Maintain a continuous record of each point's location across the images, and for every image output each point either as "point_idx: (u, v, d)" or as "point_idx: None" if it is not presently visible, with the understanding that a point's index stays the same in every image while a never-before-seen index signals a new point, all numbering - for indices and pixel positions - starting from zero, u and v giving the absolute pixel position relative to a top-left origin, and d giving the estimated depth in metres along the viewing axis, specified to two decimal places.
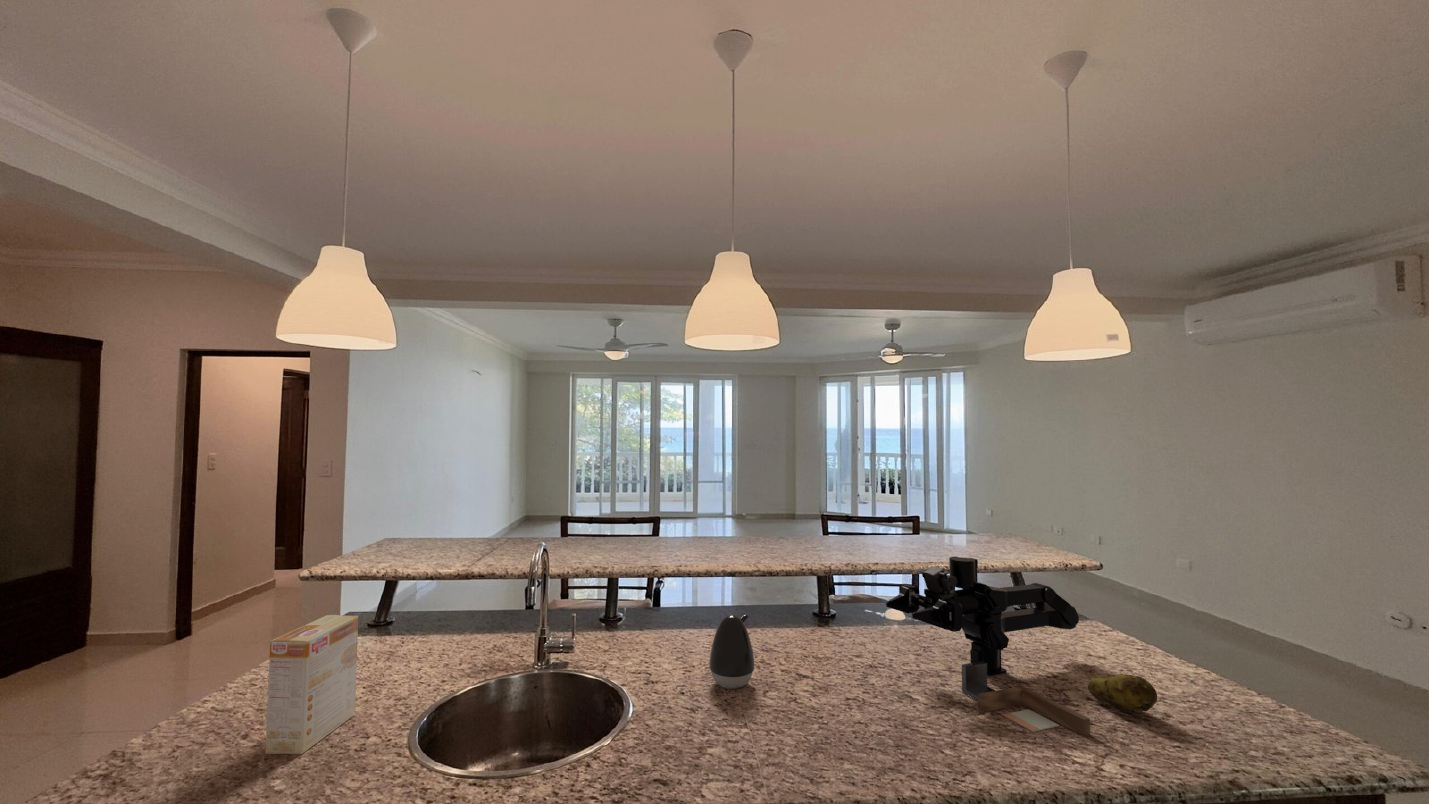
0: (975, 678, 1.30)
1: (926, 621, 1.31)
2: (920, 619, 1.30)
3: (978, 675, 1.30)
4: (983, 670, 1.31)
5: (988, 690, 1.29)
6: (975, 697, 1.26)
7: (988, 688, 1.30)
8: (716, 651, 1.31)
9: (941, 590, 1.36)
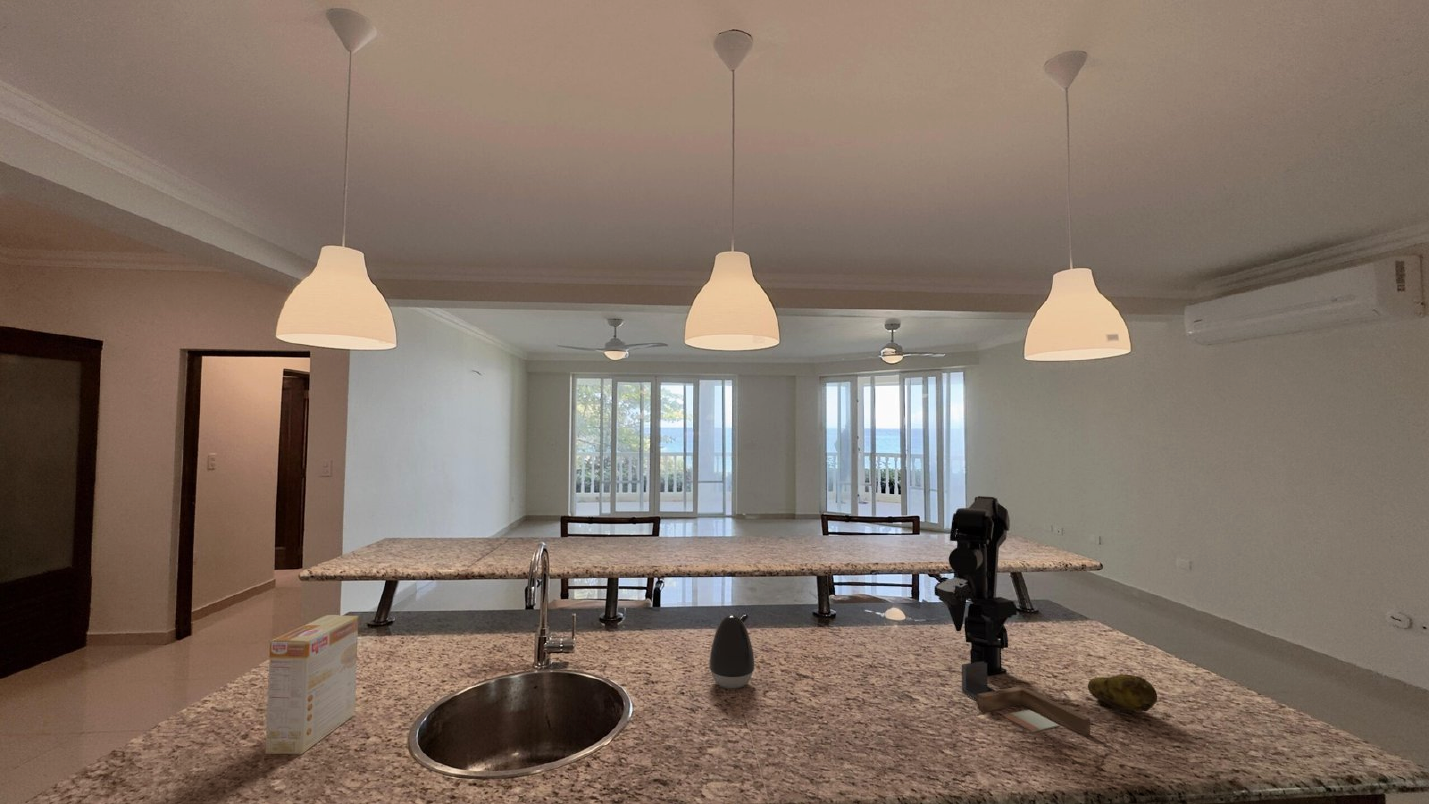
0: (975, 678, 1.30)
1: (997, 631, 1.27)
2: (995, 637, 1.27)
3: (978, 675, 1.30)
4: (983, 670, 1.31)
5: (988, 690, 1.29)
6: (975, 697, 1.26)
7: (988, 688, 1.30)
8: (716, 651, 1.31)
9: None
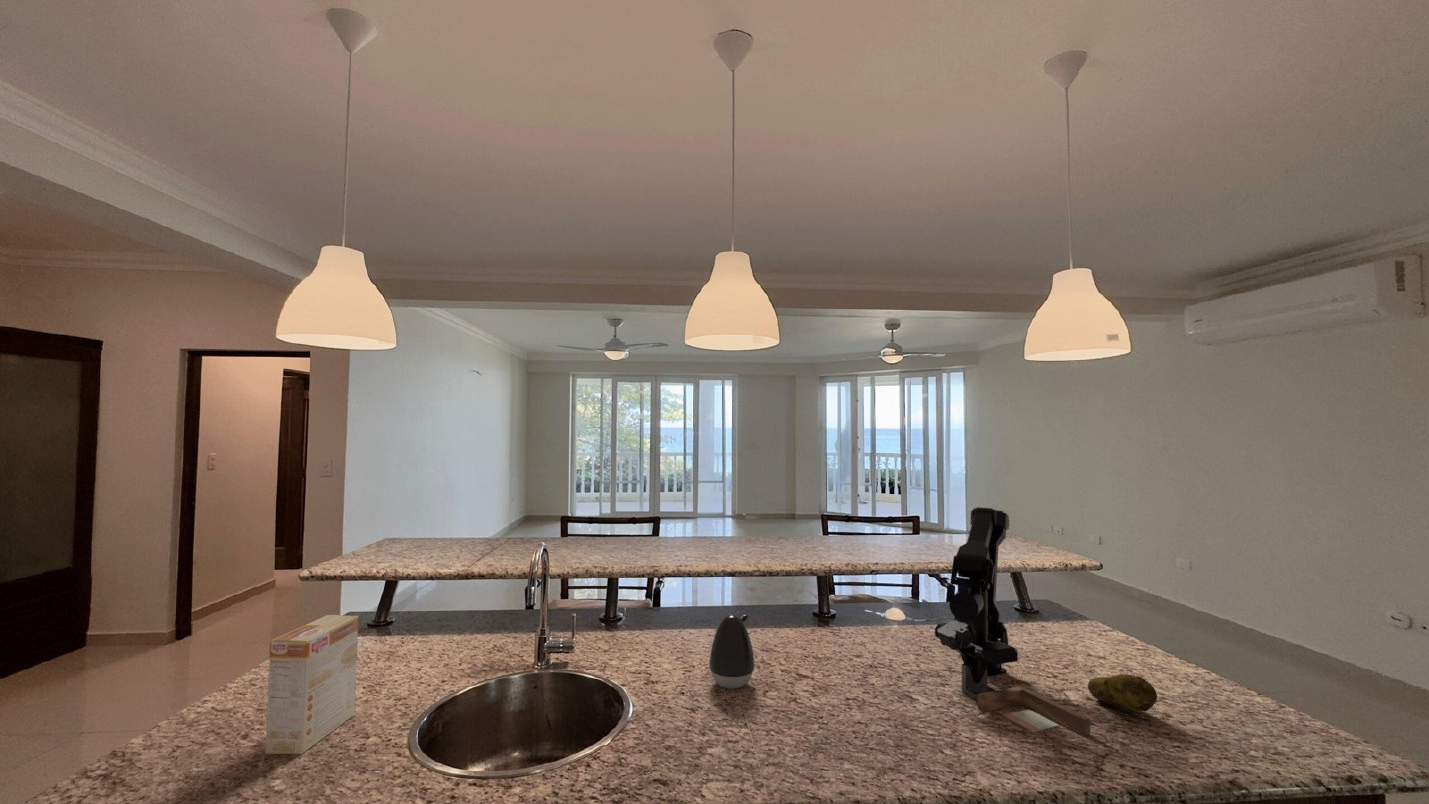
0: None
1: (984, 669, 1.30)
2: (982, 676, 1.30)
3: None
4: None
5: (988, 689, 1.29)
6: (975, 696, 1.26)
7: (988, 687, 1.30)
8: (716, 651, 1.31)
9: None
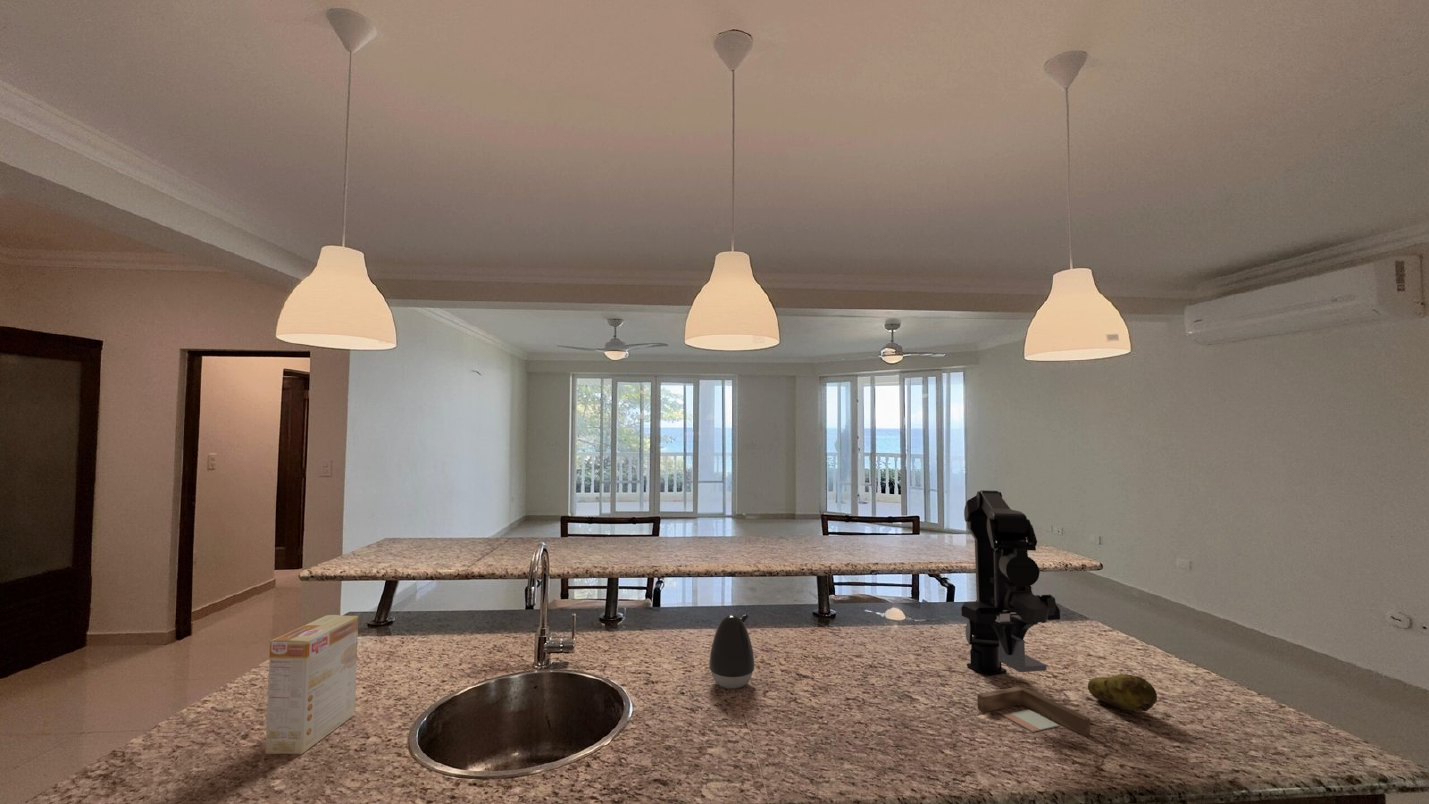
0: None
1: None
2: None
3: None
4: None
5: None
6: (1037, 668, 1.16)
7: None
8: (716, 651, 1.31)
9: None
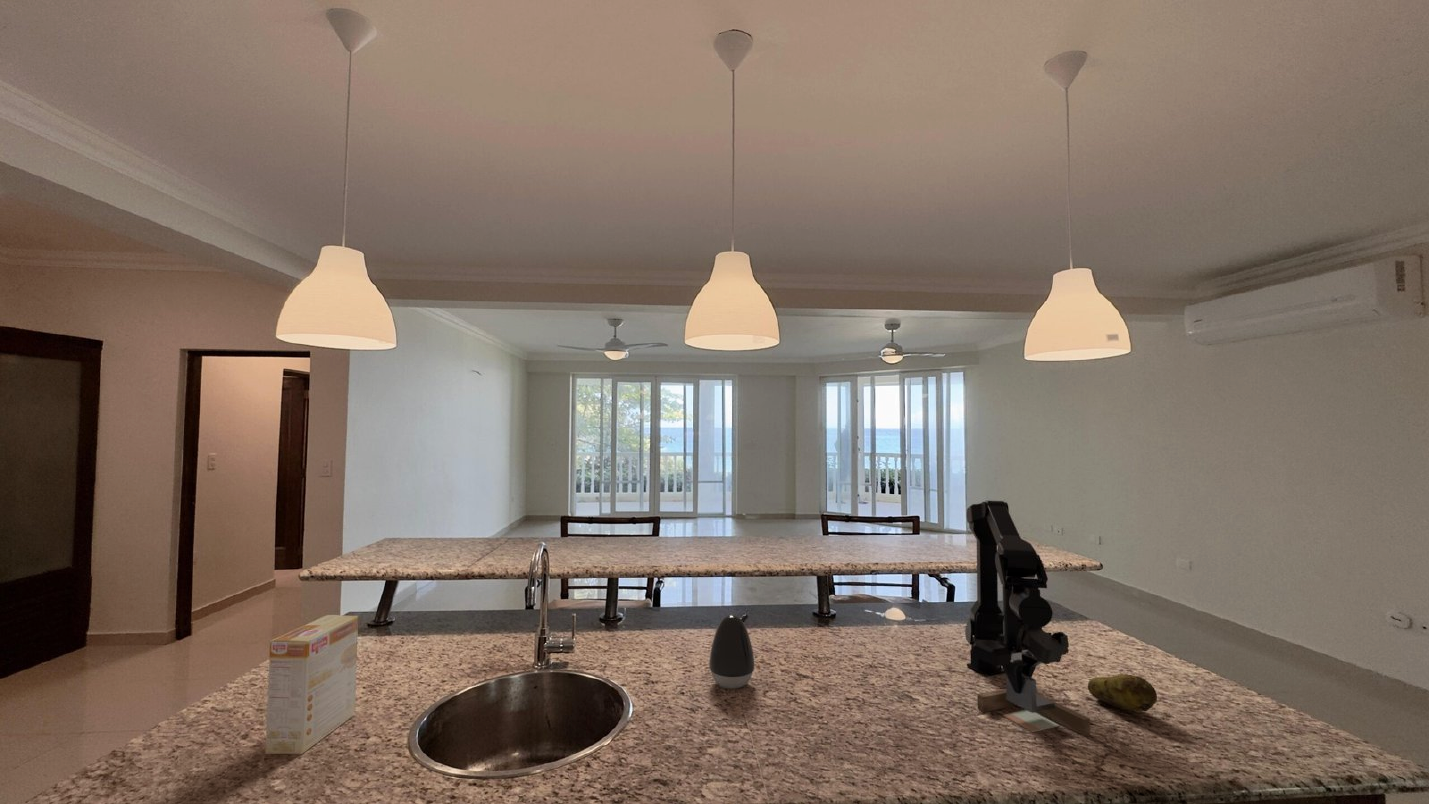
0: None
1: None
2: None
3: None
4: None
5: None
6: (1046, 706, 1.15)
7: None
8: (716, 651, 1.31)
9: None
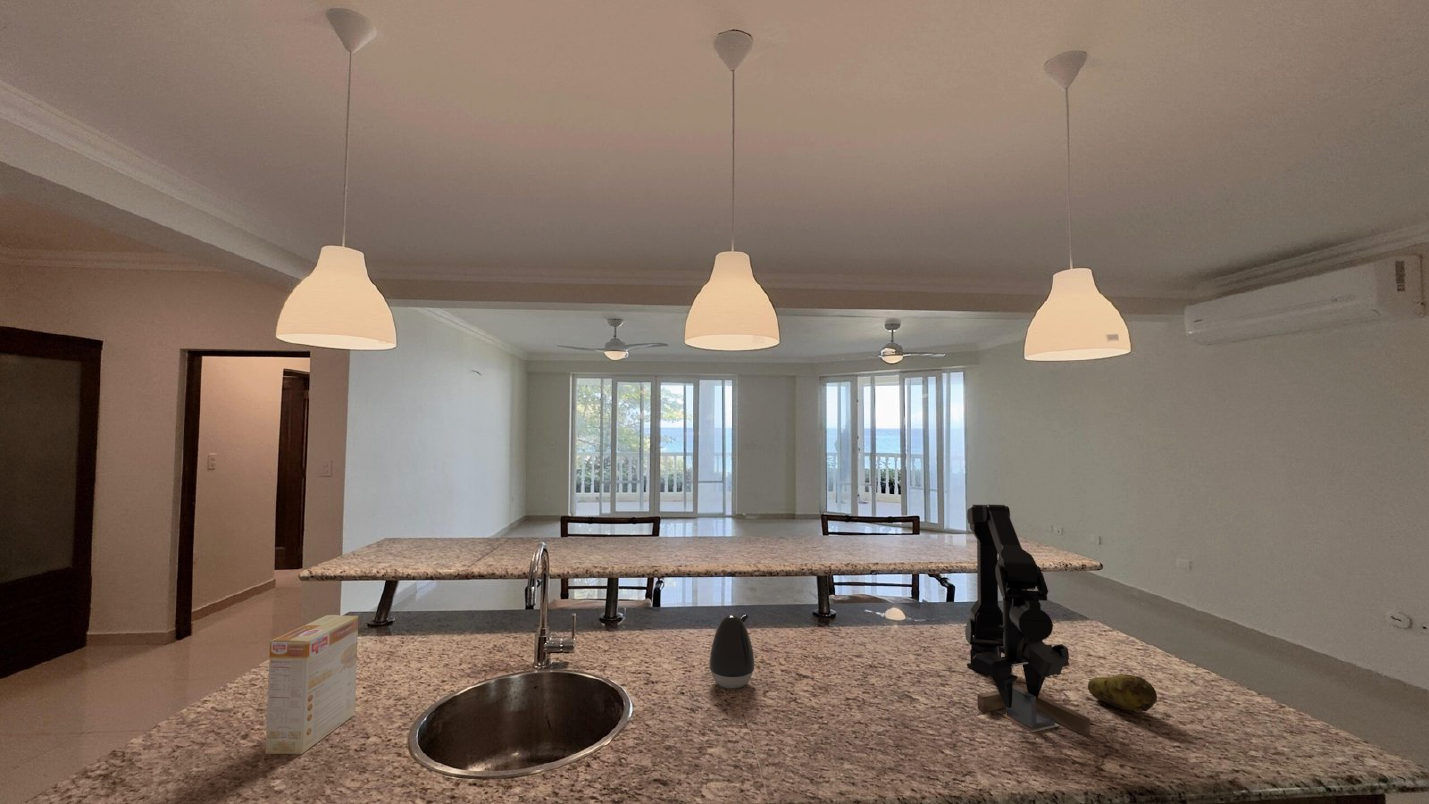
0: None
1: None
2: None
3: None
4: None
5: None
6: (1047, 723, 1.14)
7: None
8: (716, 651, 1.31)
9: None
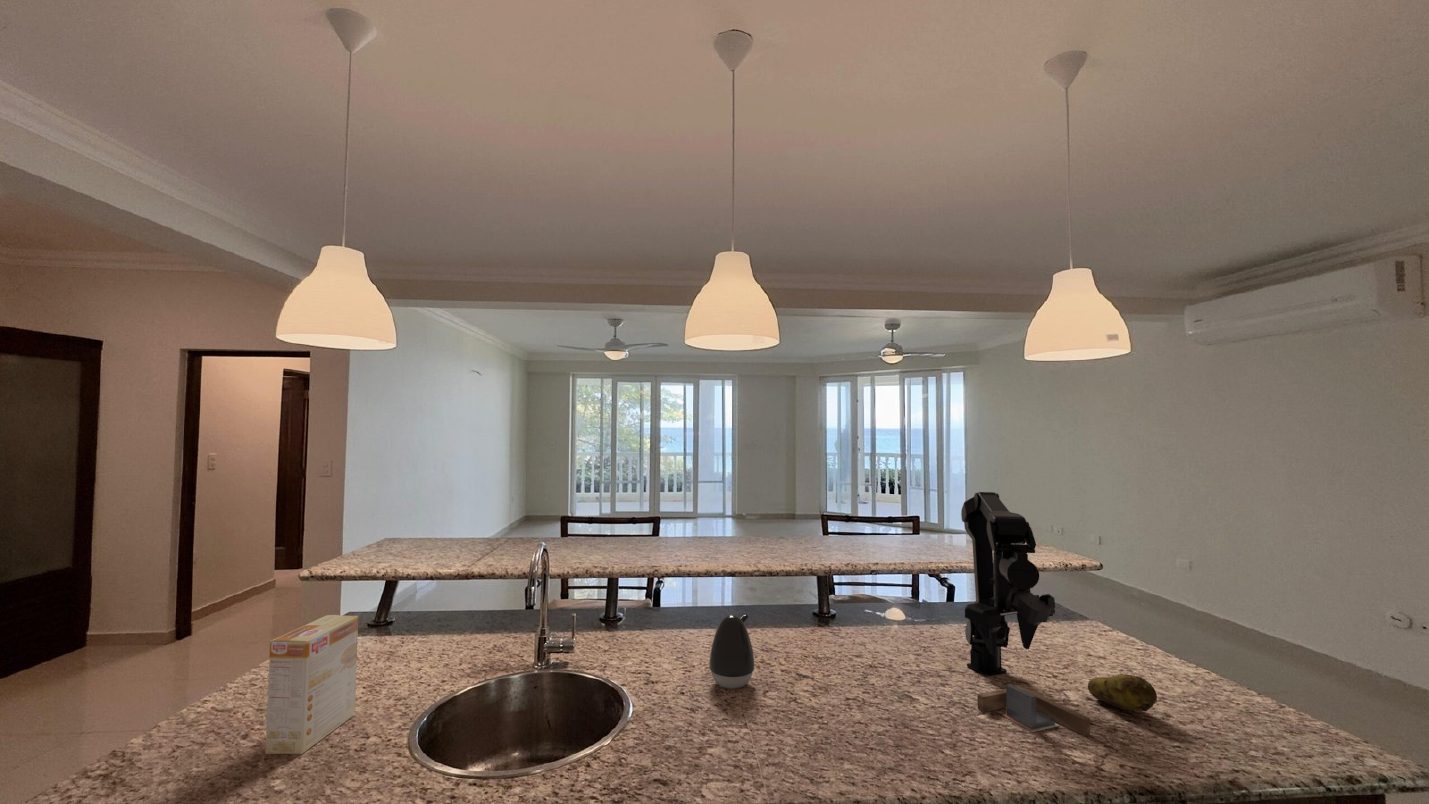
0: None
1: None
2: None
3: None
4: None
5: None
6: (1047, 723, 1.14)
7: None
8: (716, 651, 1.31)
9: None
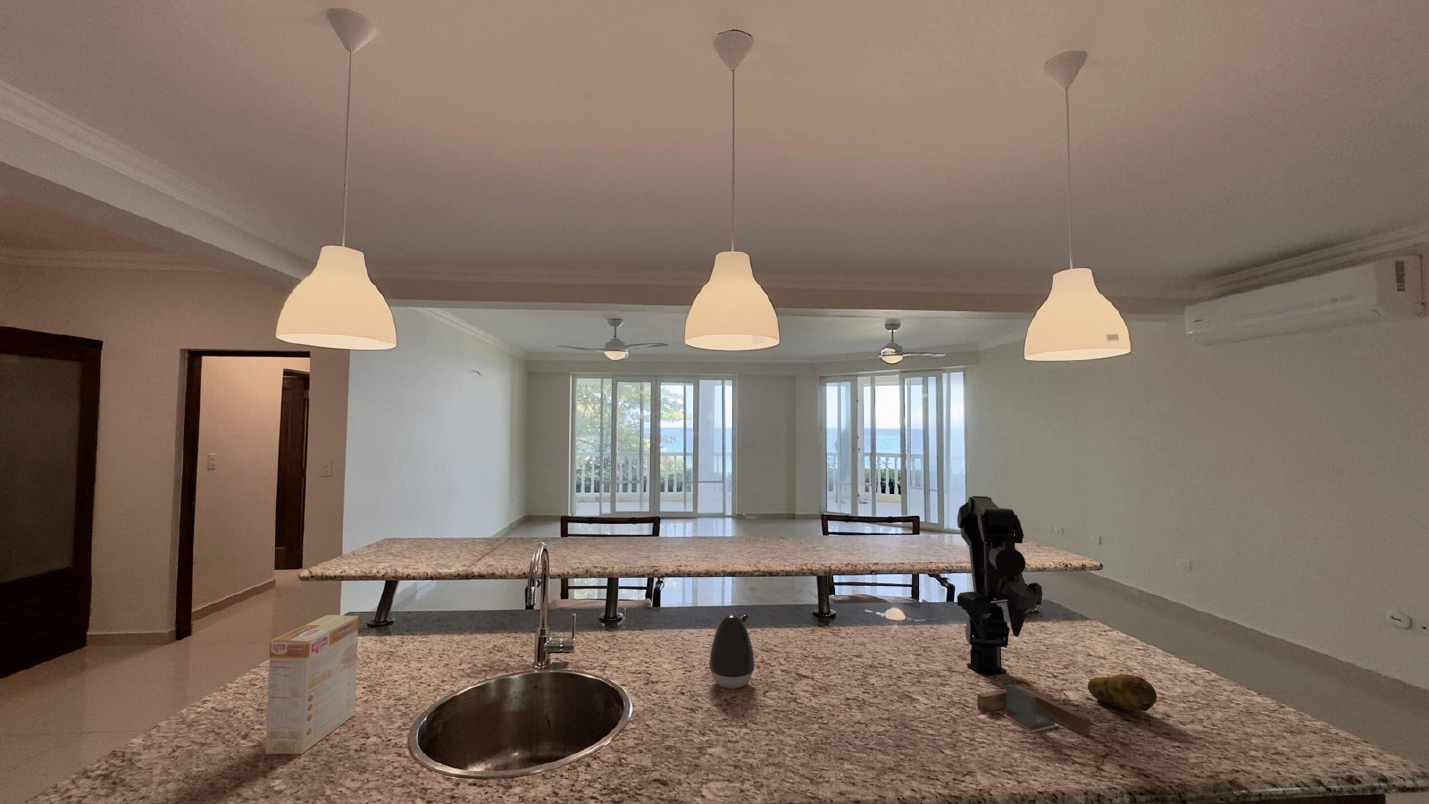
0: None
1: None
2: None
3: None
4: None
5: None
6: (1047, 723, 1.14)
7: None
8: (716, 651, 1.31)
9: None
